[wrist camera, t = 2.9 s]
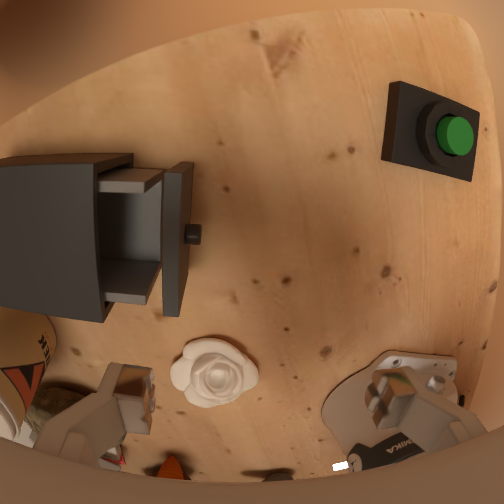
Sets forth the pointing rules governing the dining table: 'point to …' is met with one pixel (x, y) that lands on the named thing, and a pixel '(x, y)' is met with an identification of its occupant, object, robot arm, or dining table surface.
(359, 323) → the dining table surface
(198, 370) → the rose
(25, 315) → the coffee cup
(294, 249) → the dining table surface
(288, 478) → the light bulb
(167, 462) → the carrot
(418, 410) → the robot arm
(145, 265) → the drawer
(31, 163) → the cabinet
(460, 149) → the button
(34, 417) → the stone
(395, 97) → the control block
